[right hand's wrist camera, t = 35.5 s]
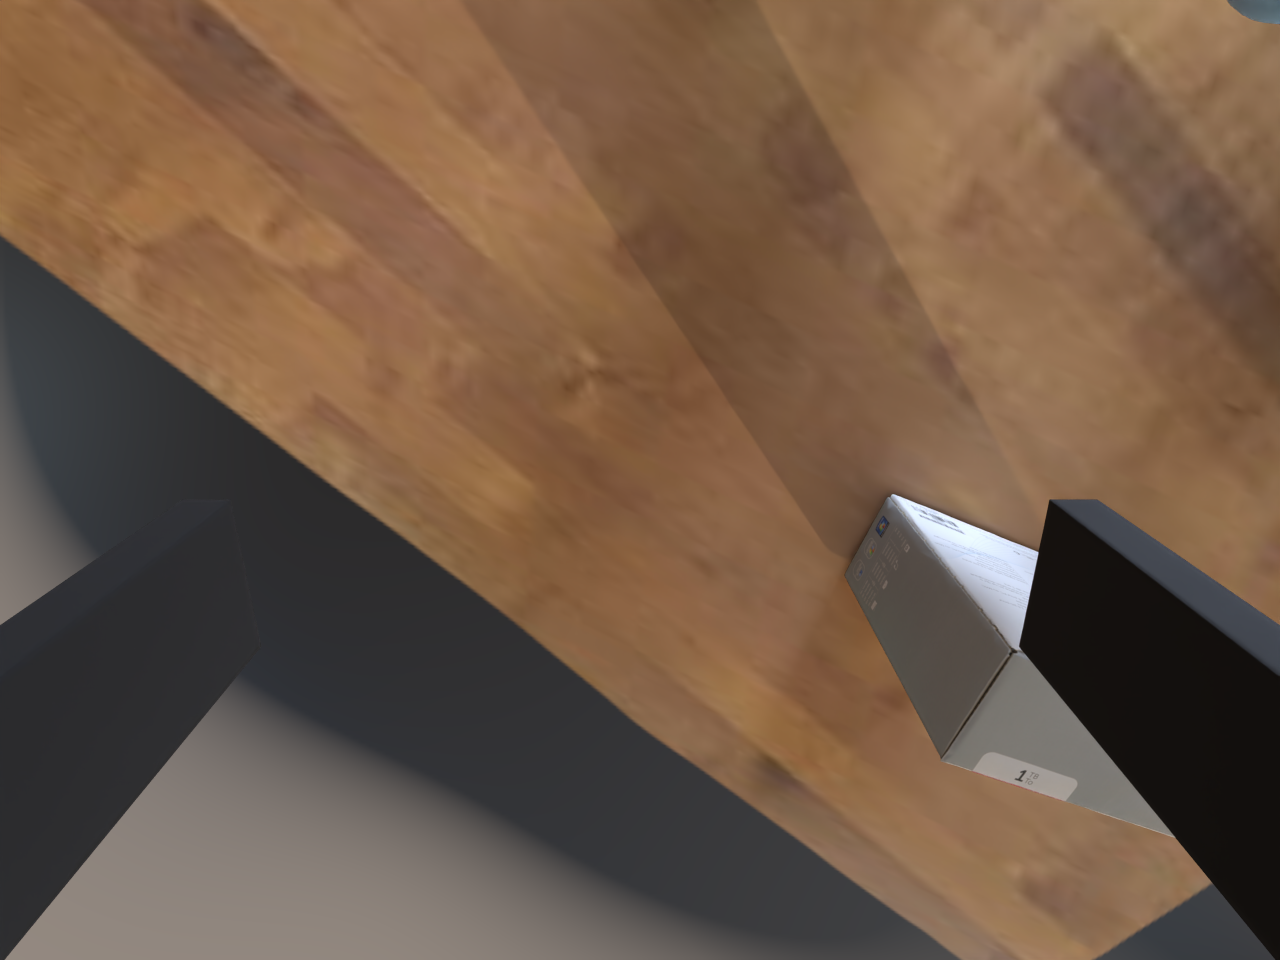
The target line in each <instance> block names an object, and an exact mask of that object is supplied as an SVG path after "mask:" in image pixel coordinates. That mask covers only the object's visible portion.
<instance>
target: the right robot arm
mask: <svg viewBox="0 0 1280 960" xmlns="http://www.w3.org/2000/svg"><path fill="white" fill-rule="evenodd" d="M1227 1H1228V3H1229V4H1230V5H1231V6H1232V7H1233V8H1234V9H1236V10H1237V11H1238V12H1239V13H1240V14H1242V15H1244V16H1246V17H1248V18H1249V19H1252V20H1255V21H1259V22H1264V23H1273V24H1280V0H1227ZM260 647H261V643H260V639H259V634H258V629H257V624H256V620H255V615H254V610H253V605H252V601H251V596H250V591H249V586H248V581H247V577H246V572H245V567H244V562H243V558H242V553H241V548H240V543H239V539H238V534H237V529H236V524H235V519H234V515H233V510H232V505H231V501H230V500H181V501H180V502H178V503H177V504H176V505H174V506H173V507H171V508H170V509H168V510H167V511H165V512H164V513H163V514H161V515H160V516H158V517H157V518H155V519H154V520H152V521H151V522H149V523H148V524H147V525H145V526H144V527H142V528H141V529H139V530H138V531H136V532H135V533H134V534H132V535H131V536H129V537H128V538H126V539H125V540H123V541H122V542H120V543H119V544H117V545H116V546H115V547H113V548H112V549H110V550H109V551H107V552H106V553H104V554H103V555H102V556H100V557H99V558H97V559H96V560H94V561H93V562H91V563H90V564H88V565H87V566H86V567H84V568H83V569H81V570H80V571H78V572H77V573H75V574H74V575H72V576H71V577H70V578H68V579H67V580H65V581H64V582H62V583H61V584H59V585H58V586H57V587H55V588H54V589H52V590H51V591H49V592H48V593H46V594H45V595H43V596H42V597H41V598H39V599H38V600H36V601H35V602H33V603H32V604H30V605H29V606H28V607H26V608H25V609H23V610H22V611H20V612H19V613H17V614H16V615H14V616H13V617H12V618H10V619H9V620H7V621H6V622H4V623H3V624H1V625H0V960H5V958H6V957H7V956H8V955H9V954H10V952H11V951H12V950H13V949H14V947H15V946H16V945H17V944H18V943H19V941H20V940H21V939H22V938H23V937H24V935H25V934H26V933H27V932H28V930H29V929H30V928H31V927H32V926H33V924H34V923H35V922H36V921H37V919H38V918H39V917H40V916H41V915H42V913H43V912H44V911H45V910H46V908H47V907H48V906H49V905H50V904H51V902H52V901H53V900H54V899H55V897H56V896H57V895H58V894H59V893H60V891H61V890H62V889H63V888H64V887H65V885H66V884H67V883H68V882H69V880H70V879H71V878H72V877H73V876H74V874H75V873H76V872H77V871H78V869H79V868H80V867H81V866H82V865H83V863H84V862H85V861H86V860H87V858H88V857H89V856H90V855H91V854H92V852H93V851H94V850H95V849H96V847H97V846H98V845H99V844H100V843H101V841H102V840H103V839H104V838H105V836H106V835H107V834H108V833H109V832H110V830H111V829H112V828H113V827H114V826H115V824H116V823H117V822H118V821H119V819H120V818H121V817H122V816H123V814H124V813H125V812H126V811H127V810H128V808H129V807H130V806H131V805H132V804H133V802H134V801H135V800H136V799H137V797H138V796H139V795H140V794H141V793H142V791H143V790H144V789H145V788H146V787H147V785H148V784H149V783H150V782H151V780H152V779H153V778H154V777H155V776H156V774H157V773H158V772H159V771H160V769H161V768H162V767H163V766H164V765H165V763H166V762H167V761H168V760H169V758H170V757H171V756H172V755H173V753H174V752H175V751H176V750H177V749H178V747H179V746H180V745H181V744H182V742H183V741H184V740H185V739H186V738H187V736H188V735H189V734H190V733H191V732H192V730H193V729H194V728H195V727H196V725H197V724H198V723H199V722H200V721H201V719H202V718H203V717H204V716H205V715H206V713H207V712H208V711H209V710H210V708H211V707H212V706H213V705H214V704H215V702H216V701H217V700H218V699H219V697H220V696H221V695H222V694H223V693H224V691H225V690H226V689H227V688H228V686H229V685H230V684H231V683H232V682H233V680H234V679H235V678H236V677H237V676H238V674H239V673H240V672H241V671H242V669H243V668H244V667H245V666H246V664H247V663H248V662H249V661H250V660H251V658H252V657H253V656H254V655H255V654H256V652H257V651H258V650H259V649H260ZM1019 647H1020V649H1021V650H1022V651H1023V652H1024V654H1025V655H1026V656H1027V657H1028V658H1029V660H1030V661H1031V662H1032V663H1033V665H1034V666H1035V667H1036V668H1037V669H1038V671H1039V672H1040V673H1041V674H1042V676H1043V677H1044V678H1045V679H1046V680H1047V682H1048V683H1049V684H1050V685H1051V686H1052V688H1053V689H1054V690H1055V691H1056V693H1057V694H1058V695H1059V696H1060V697H1061V699H1062V700H1063V701H1064V702H1065V704H1066V705H1067V706H1068V707H1069V708H1070V710H1071V711H1072V712H1073V713H1074V715H1075V716H1076V717H1077V718H1078V719H1079V721H1080V722H1081V723H1082V724H1083V726H1084V727H1085V728H1086V729H1087V730H1088V732H1089V733H1090V734H1091V735H1092V736H1093V738H1094V739H1095V740H1096V741H1097V743H1098V744H1099V745H1100V746H1101V747H1102V749H1103V750H1104V751H1105V752H1106V754H1107V755H1108V756H1109V757H1110V758H1111V760H1112V761H1113V762H1114V763H1115V765H1116V766H1117V767H1118V768H1119V769H1120V771H1121V772H1122V773H1123V774H1124V776H1125V777H1126V778H1127V779H1128V780H1129V782H1130V783H1131V784H1132V785H1133V787H1134V788H1135V789H1136V790H1137V791H1138V793H1139V794H1140V795H1141V796H1142V797H1143V799H1144V800H1145V801H1146V802H1147V804H1148V805H1149V806H1150V807H1151V808H1152V810H1153V811H1154V812H1155V813H1156V815H1157V816H1158V817H1159V818H1160V819H1161V821H1162V822H1163V823H1164V824H1165V826H1166V827H1167V828H1168V829H1169V830H1170V832H1171V833H1172V834H1173V835H1174V837H1175V838H1176V839H1177V840H1178V841H1179V843H1180V844H1181V845H1182V846H1183V847H1184V849H1185V850H1186V851H1187V852H1188V854H1189V855H1190V856H1191V857H1192V858H1193V860H1194V861H1195V862H1196V863H1197V865H1198V866H1199V867H1200V868H1201V869H1202V871H1203V872H1204V873H1205V874H1206V876H1207V877H1208V878H1209V879H1210V880H1211V882H1212V883H1213V884H1214V885H1215V887H1216V888H1217V889H1218V890H1219V891H1220V893H1221V894H1222V895H1223V896H1224V897H1225V899H1226V900H1227V901H1228V902H1229V904H1230V905H1231V906H1232V907H1233V908H1234V910H1235V911H1236V912H1237V913H1238V915H1239V916H1240V917H1241V918H1242V919H1243V921H1244V922H1245V923H1246V924H1247V926H1248V927H1249V928H1250V929H1251V930H1252V932H1253V933H1254V934H1255V935H1256V937H1257V938H1258V939H1259V940H1260V941H1261V943H1262V944H1263V945H1264V946H1265V947H1266V949H1267V950H1268V951H1269V952H1270V954H1271V955H1272V956H1273V957H1274V958H1275V960H1280V625H1279V624H1277V623H1276V622H1274V621H1273V620H1271V619H1270V618H1268V617H1267V616H1266V615H1264V614H1263V613H1261V612H1260V611H1258V610H1257V609H1255V608H1254V607H1253V606H1251V605H1250V604H1248V603H1247V602H1245V601H1244V600H1242V599H1241V598H1239V597H1238V596H1237V595H1235V594H1234V593H1232V592H1231V591H1229V590H1228V589H1226V588H1225V587H1223V586H1222V585H1221V584H1219V583H1218V582H1216V581H1215V580H1213V579H1212V578H1210V577H1209V576H1208V575H1206V574H1205V573H1203V572H1202V571H1200V570H1199V569H1197V568H1196V567H1194V566H1193V565H1192V564H1190V563H1189V562H1187V561H1186V560H1184V559H1183V558H1181V557H1180V556H1178V555H1177V554H1176V553H1174V552H1173V551H1171V550H1170V549H1168V548H1167V547H1165V546H1164V545H1163V544H1161V543H1160V542H1158V541H1157V540H1155V539H1154V538H1152V537H1151V536H1149V535H1148V534H1147V533H1145V532H1144V531H1142V530H1141V529H1139V528H1138V527H1136V526H1135V525H1133V524H1132V523H1131V522H1129V521H1128V520H1126V519H1125V518H1123V517H1122V516H1120V515H1119V514H1117V513H1116V512H1115V511H1113V510H1112V509H1110V508H1109V507H1107V506H1106V505H1104V504H1103V503H1102V502H1100V501H1099V500H1049V505H1048V510H1047V515H1046V519H1045V524H1044V529H1043V534H1042V538H1041V543H1040V548H1039V553H1038V557H1037V562H1036V567H1035V572H1034V577H1033V581H1032V586H1031V591H1030V596H1029V600H1028V605H1027V610H1026V615H1025V619H1024V624H1023V629H1022V634H1021V639H1020V643H1019Z"/></svg>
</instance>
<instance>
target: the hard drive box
mask: <svg viewBox="0 0 1280 960" xmlns="http://www.w3.org/2000/svg"><path fill="white" fill-rule="evenodd" d="M1038 553H1039V552H1036V551H1034V550H1032V549H1029V548H1027V547H1024V546H1022V545H1019V544H1017V543H1014V542H1011V541H1009V540H1006V539H1004V538H1001V537H999V536H997V535H994V534H992V533H989V532H987V531H984V530H982V529H979V528H977V527H974V526H972V525H969V524H967V523H964V522H962V521H959V520H957V519H954V518H952V517H949V516H947V515H945V514H942V513H940V512H938V511H935V510H933V509H930V508H927V507H925V506H922V505H919V504H917V503H914V502H912V501H909V500H907V499H904V498H902V497H899V496H897V495H894V494H892V495H891V497H887V499H886V500H885V502H884V504H883V506H882V507H881V509H880V511H879V513H878V515H877V517H876V518H875V520H874V522H873V524H872V526H871V527H870V529H869V531H868V533H867V535H866V536H865V538H864V540H863V542H862V544H861V545H860V547H859V549H858V551H857V553H856V554H855V556H854V558H853V560H852V562H851V564H850V565H849V567H848V569H847V571H846V573H845V578H846V579H847V581H848V583H849V585H850V587H851V589H852V591H853V593H854V595H855V596H856V598H857V600H858V602H859V604H860V606H861V608H862V610H863V612H864V614H865V616H866V618H867V619H868V621H869V623H870V625H871V627H872V629H873V631H874V632H875V634H876V636H877V638H878V640H879V642H880V644H881V645H882V647H883V649H884V651H885V653H886V655H887V657H888V659H889V661H890V662H891V664H892V666H893V668H894V670H895V672H896V674H897V676H898V677H899V679H900V681H901V683H902V685H903V687H904V689H905V691H906V693H907V694H908V696H909V698H910V700H911V702H912V704H913V706H914V708H915V709H916V711H917V713H918V715H919V717H920V719H921V721H922V723H923V725H924V727H925V728H926V730H927V732H928V734H929V736H930V738H931V740H932V742H933V744H934V746H935V747H936V749H937V751H938V753H939V755H940V758H941V760H940V761H942V762H945V763H948V764H952V765H955V766H958V767H961V768H964V769H967V770H970V771H972V772H975V773H978V774H981V775H984V776H987V777H990V778H993V779H996V780H999V781H1003V782H1006V783H1009V784H1012V785H1015V786H1018V787H1021V788H1024V789H1027V790H1030V791H1033V792H1036V793H1039V794H1042V795H1045V796H1049V797H1052V798H1055V799H1058V800H1061V801H1065V802H1069V803H1072V804H1075V805H1078V806H1081V807H1084V808H1087V809H1090V810H1092V811H1096V812H1099V813H1101V814H1104V815H1107V816H1110V817H1113V818H1116V819H1120V820H1123V821H1126V822H1129V823H1132V824H1135V825H1138V826H1141V827H1144V828H1147V829H1150V830H1153V831H1156V832H1159V833H1162V834H1166V835H1169V836H1172V837H1174V835H1173V834H1172V833H1171V832H1170V830H1169V829H1168V828H1167V827H1166V826H1165V824H1164V823H1163V822H1162V821H1161V819H1160V818H1159V817H1158V816H1157V815H1156V813H1155V812H1154V811H1153V810H1152V808H1151V807H1150V806H1149V805H1148V804H1147V802H1146V801H1145V800H1144V799H1143V797H1142V796H1141V795H1140V794H1139V793H1138V791H1137V790H1136V789H1135V788H1134V787H1133V785H1132V784H1131V783H1130V782H1129V780H1128V779H1127V778H1126V777H1125V776H1124V774H1123V773H1122V772H1121V771H1120V769H1119V768H1118V767H1117V766H1116V765H1115V763H1114V762H1113V761H1112V760H1111V758H1110V757H1109V756H1108V755H1107V754H1106V752H1105V751H1104V750H1103V749H1102V747H1101V746H1100V745H1099V744H1098V743H1097V741H1096V740H1095V739H1094V738H1093V736H1092V735H1091V734H1090V733H1089V732H1088V730H1087V729H1086V728H1085V727H1084V726H1083V724H1082V723H1081V722H1080V721H1079V719H1078V718H1077V717H1076V716H1075V715H1074V713H1073V712H1072V711H1071V710H1070V708H1069V707H1068V706H1067V705H1066V704H1065V702H1064V701H1063V700H1062V699H1061V697H1060V696H1059V695H1058V694H1057V693H1056V691H1055V690H1054V689H1053V688H1052V686H1051V685H1050V684H1049V683H1048V682H1047V680H1046V679H1045V678H1044V677H1043V676H1042V674H1041V673H1040V672H1039V671H1038V669H1037V668H1036V667H1035V666H1034V665H1033V663H1032V662H1031V661H1030V660H1029V658H1028V657H1027V656H1026V655H1025V654H1024V652H1023V651H1022V650H1021V649H1020V647H1019V643H1020V639H1021V634H1022V629H1023V624H1024V619H1025V615H1026V610H1027V605H1028V600H1029V596H1030V591H1031V586H1032V581H1033V577H1034V572H1035V567H1036V562H1037V557H1038ZM1174 838H1175V837H1174Z"/></svg>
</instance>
